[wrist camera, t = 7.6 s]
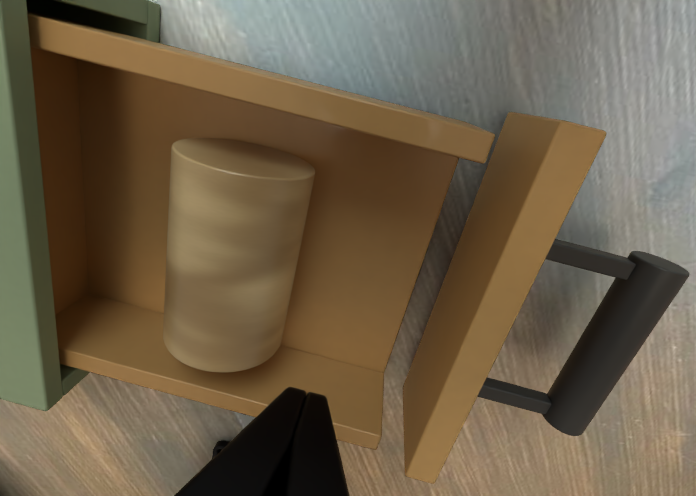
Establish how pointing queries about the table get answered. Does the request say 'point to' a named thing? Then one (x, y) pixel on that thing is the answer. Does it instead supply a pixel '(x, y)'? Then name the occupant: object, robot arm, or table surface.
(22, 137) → the cabinet
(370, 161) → the drawer
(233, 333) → the roller
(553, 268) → the table surface
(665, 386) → the table surface
